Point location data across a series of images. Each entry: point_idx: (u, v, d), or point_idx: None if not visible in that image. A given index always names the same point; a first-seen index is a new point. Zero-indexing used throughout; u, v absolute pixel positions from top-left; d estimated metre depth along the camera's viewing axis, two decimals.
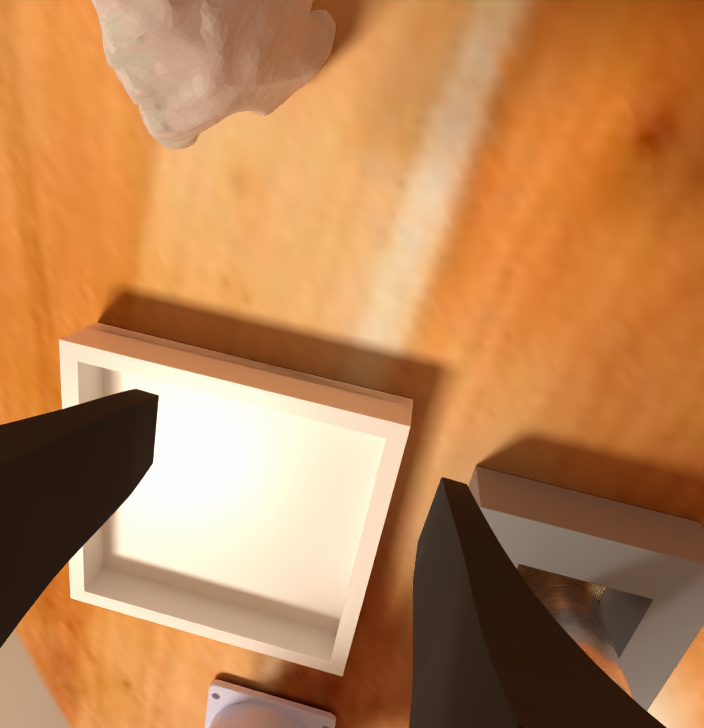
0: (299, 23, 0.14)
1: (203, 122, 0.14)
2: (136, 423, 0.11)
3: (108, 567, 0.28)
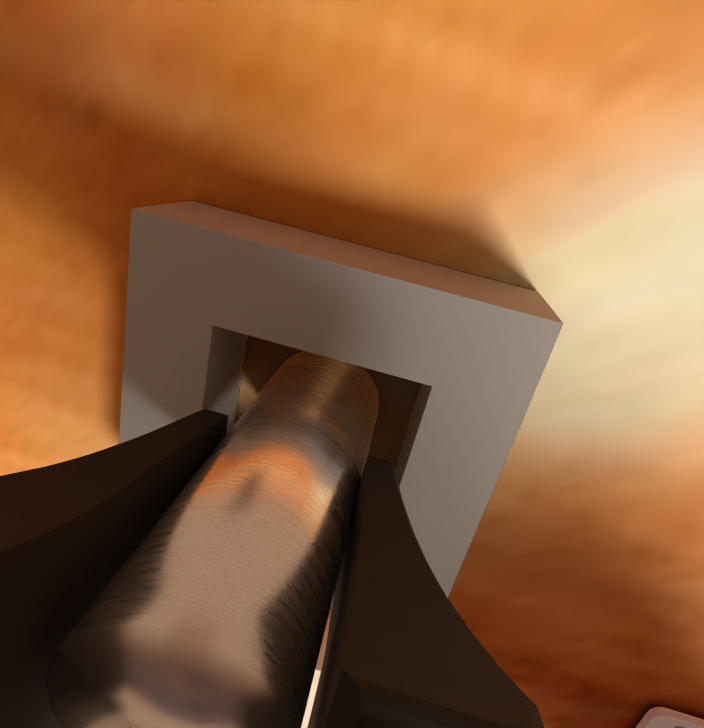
0: None
1: None
2: (210, 445, 0.11)
3: None
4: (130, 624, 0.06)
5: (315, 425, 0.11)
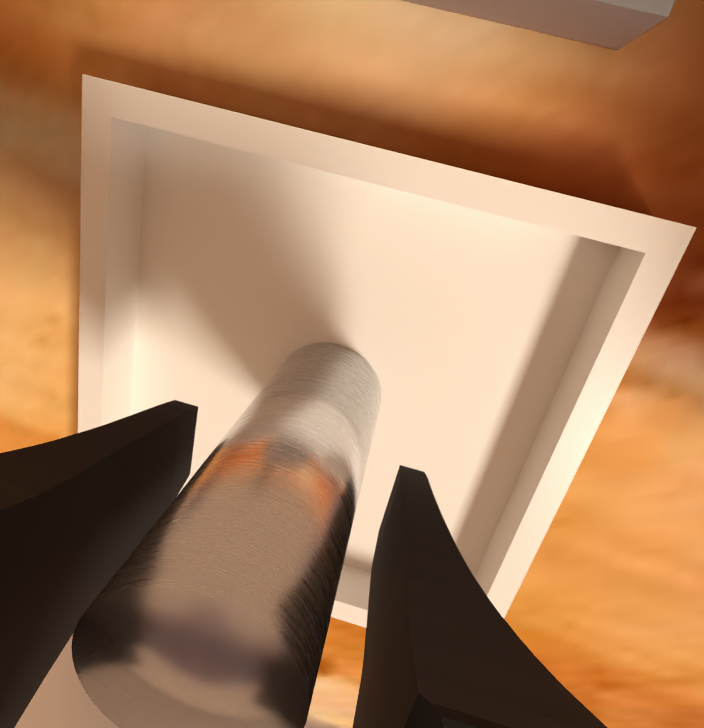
0: None
1: None
2: (178, 435, 0.11)
3: None
4: (155, 587, 0.06)
5: (322, 412, 0.12)
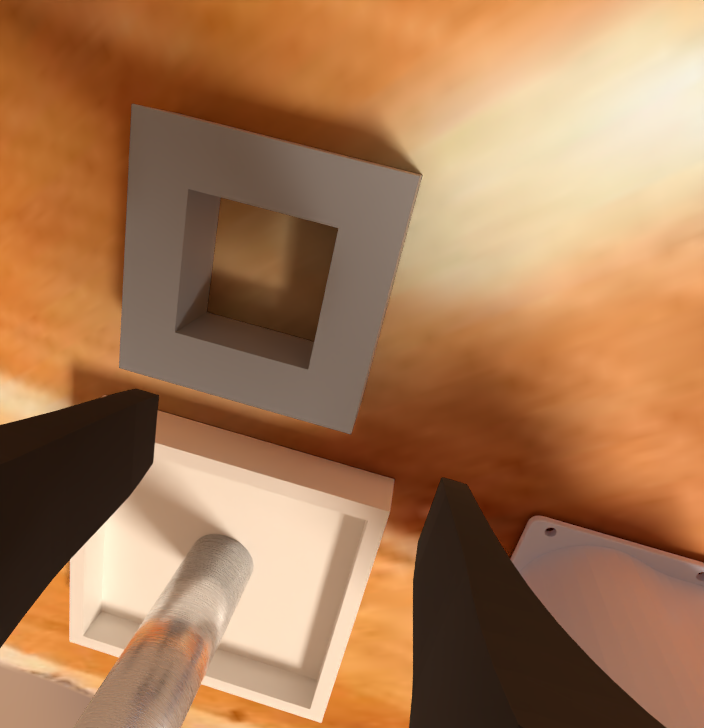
0: None
1: None
2: (136, 423, 0.11)
3: (315, 676, 0.29)
4: None
5: (195, 607, 0.22)
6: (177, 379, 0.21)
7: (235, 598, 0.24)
